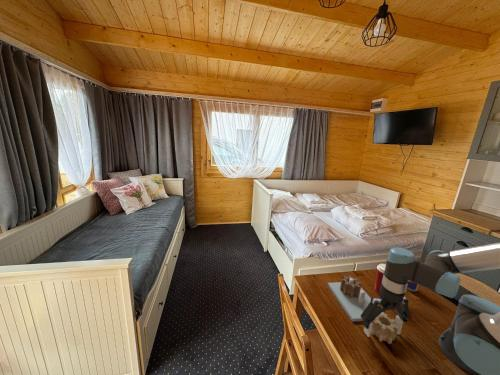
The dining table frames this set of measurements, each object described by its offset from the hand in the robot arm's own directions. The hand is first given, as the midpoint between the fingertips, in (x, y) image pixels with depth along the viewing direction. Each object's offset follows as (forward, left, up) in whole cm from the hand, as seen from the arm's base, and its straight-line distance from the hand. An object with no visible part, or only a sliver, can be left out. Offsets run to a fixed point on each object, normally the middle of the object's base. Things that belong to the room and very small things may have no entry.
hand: (381, 332), depth 83 cm
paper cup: (+22, -17, 0) cm, 28 cm away
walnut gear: (+21, +1, +1) cm, 21 cm away
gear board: (+17, +1, 0) cm, 17 cm away
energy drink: (+23, -35, 0) cm, 42 cm away
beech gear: (0, 0, 0) cm, 0 cm away
